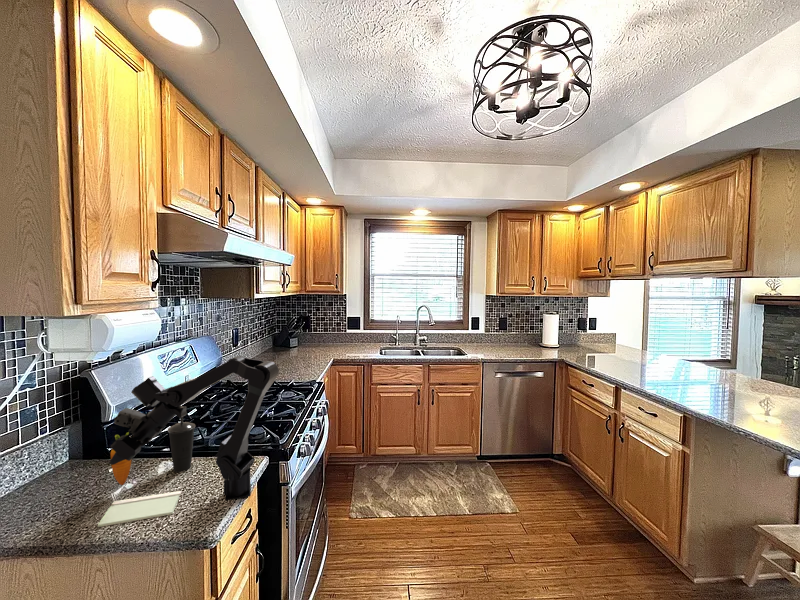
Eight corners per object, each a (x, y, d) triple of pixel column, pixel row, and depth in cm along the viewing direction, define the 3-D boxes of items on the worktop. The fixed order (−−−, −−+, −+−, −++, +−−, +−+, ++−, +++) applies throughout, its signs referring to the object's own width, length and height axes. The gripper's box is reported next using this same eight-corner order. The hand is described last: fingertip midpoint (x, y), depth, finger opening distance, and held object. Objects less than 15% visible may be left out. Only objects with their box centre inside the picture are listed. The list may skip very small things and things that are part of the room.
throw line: (181, 492, 106) (181, 490, 106) (180, 494, 105) (180, 493, 105) (114, 502, 101) (114, 501, 101) (112, 505, 99) (112, 504, 99)
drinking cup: (163, 470, 118) (162, 409, 117) (186, 460, 125) (185, 402, 124) (177, 476, 115) (177, 413, 114) (200, 466, 121) (200, 406, 121)
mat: (179, 497, 104) (179, 495, 104) (172, 514, 96) (172, 511, 96) (110, 508, 98) (110, 506, 98) (97, 527, 91) (97, 524, 91)
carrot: (130, 478, 108) (128, 428, 108) (135, 484, 105) (134, 432, 105) (109, 485, 105) (107, 433, 104) (114, 491, 101) (112, 438, 101)
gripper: (150, 390, 114) (110, 428, 112) (118, 410, 96) (69, 456, 94) (179, 413, 116) (140, 451, 114) (153, 437, 98) (106, 483, 96)
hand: (116, 459), depth 104 cm, fingers closed on carrot, 5 cm apart
